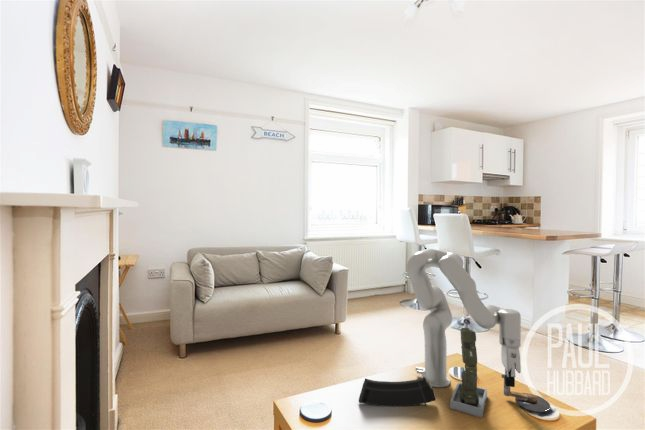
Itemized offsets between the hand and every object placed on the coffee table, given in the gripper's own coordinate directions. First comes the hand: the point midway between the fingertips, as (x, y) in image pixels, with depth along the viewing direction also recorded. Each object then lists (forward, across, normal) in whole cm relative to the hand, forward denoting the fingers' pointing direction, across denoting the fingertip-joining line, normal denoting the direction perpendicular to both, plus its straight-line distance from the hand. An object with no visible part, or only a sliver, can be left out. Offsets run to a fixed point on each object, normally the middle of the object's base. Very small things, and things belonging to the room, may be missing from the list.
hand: (509, 385), depth 141 cm
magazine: (+8, -10, +44) cm, 46 cm away
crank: (+5, +2, -4) cm, 7 cm away
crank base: (+7, +1, -8) cm, 11 cm away
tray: (+7, -3, +16) cm, 18 cm away
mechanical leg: (+7, -3, +16) cm, 18 cm away
